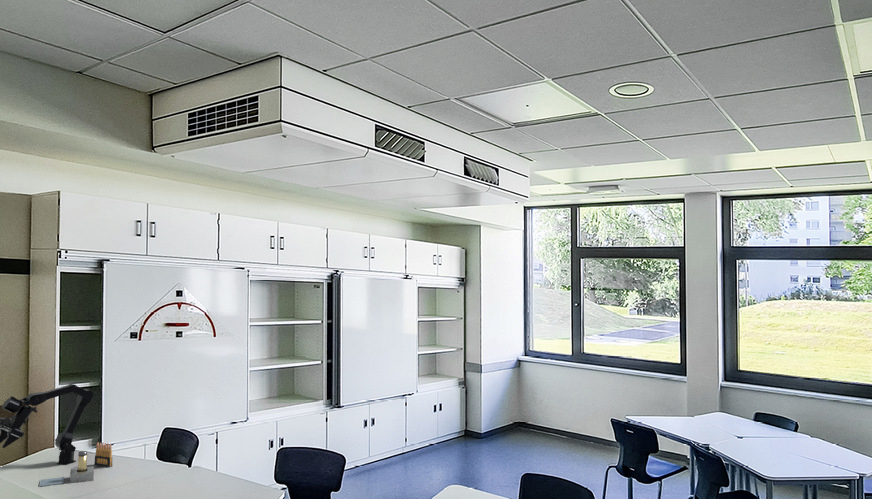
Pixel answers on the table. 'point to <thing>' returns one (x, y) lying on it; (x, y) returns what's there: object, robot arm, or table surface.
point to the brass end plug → (82, 461)
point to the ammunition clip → (103, 455)
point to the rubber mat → (51, 481)
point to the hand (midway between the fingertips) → (0, 446)
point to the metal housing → (81, 475)
